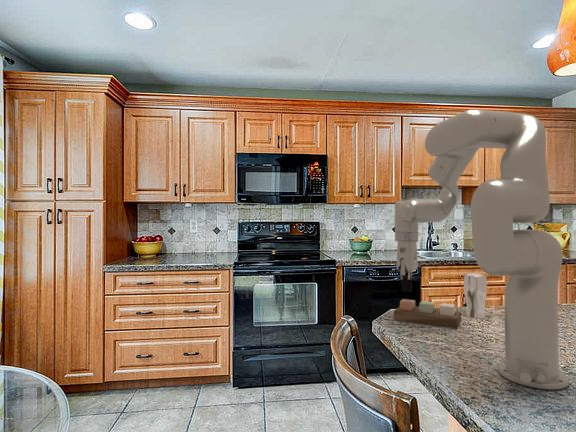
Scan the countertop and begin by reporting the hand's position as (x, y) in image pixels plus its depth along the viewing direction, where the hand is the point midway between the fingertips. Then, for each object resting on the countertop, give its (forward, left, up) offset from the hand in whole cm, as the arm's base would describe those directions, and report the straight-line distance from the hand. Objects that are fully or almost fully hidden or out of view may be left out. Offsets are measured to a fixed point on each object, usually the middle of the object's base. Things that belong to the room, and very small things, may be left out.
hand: (406, 291), depth 120 cm
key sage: (0, -7, -6) cm, 9 cm away
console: (0, -7, -10) cm, 12 cm away
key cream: (0, -13, -6) cm, 14 cm away
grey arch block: (+14, -20, -10) cm, 26 cm away
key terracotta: (0, 0, -6) cm, 6 cm away
